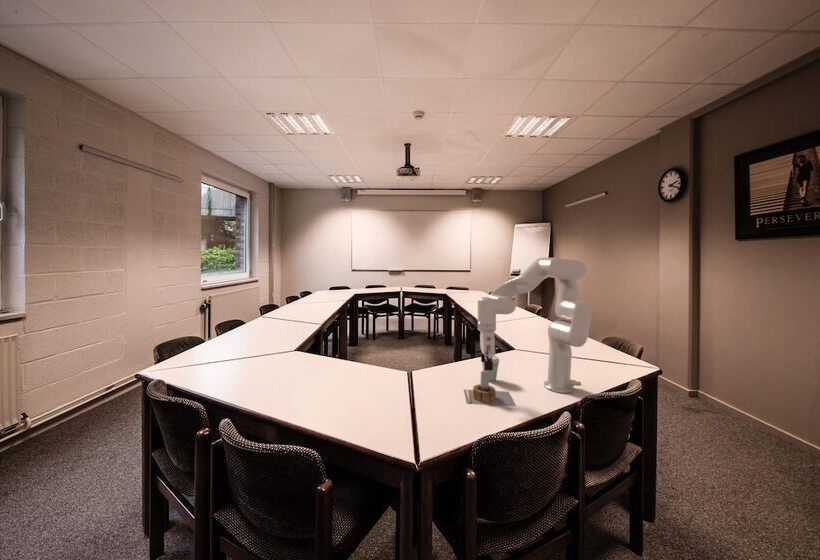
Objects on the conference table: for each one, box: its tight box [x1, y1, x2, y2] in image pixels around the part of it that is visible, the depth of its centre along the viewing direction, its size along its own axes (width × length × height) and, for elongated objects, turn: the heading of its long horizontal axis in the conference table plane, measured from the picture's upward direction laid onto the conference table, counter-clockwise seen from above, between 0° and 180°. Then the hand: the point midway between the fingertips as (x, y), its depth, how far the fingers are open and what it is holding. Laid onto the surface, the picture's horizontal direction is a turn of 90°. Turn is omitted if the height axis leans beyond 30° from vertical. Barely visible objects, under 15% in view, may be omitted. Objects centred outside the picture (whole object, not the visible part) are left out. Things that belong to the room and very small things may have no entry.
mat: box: [463, 388, 517, 407], centre depth 138 cm, size 20×14×1 cm
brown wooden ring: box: [472, 383, 497, 403], centre depth 137 cm, size 9×9×4 cm
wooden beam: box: [479, 370, 490, 391], centre depth 137 cm, size 3×3×11 cm
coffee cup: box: [481, 354, 500, 383], centre depth 158 cm, size 8×8×12 cm
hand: (486, 365), depth 137 cm, fingers open, 9 cm apart
